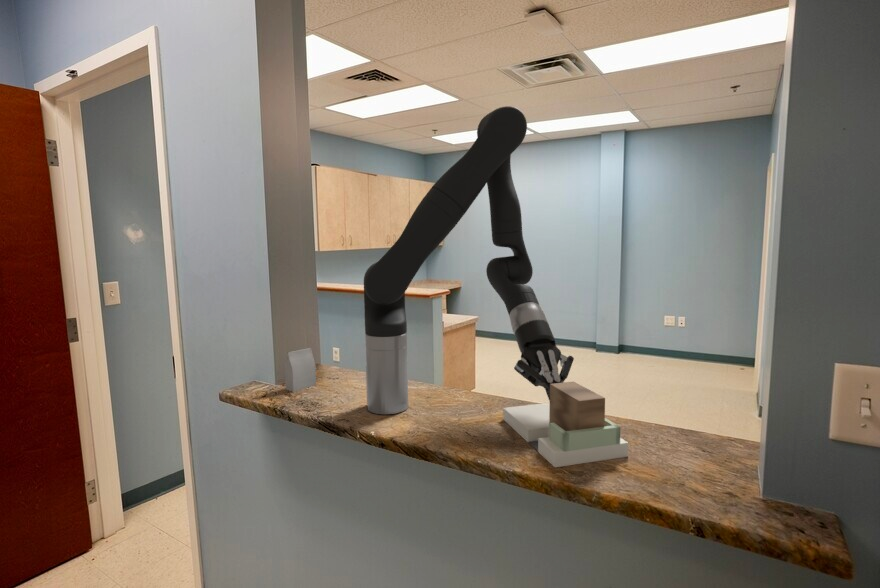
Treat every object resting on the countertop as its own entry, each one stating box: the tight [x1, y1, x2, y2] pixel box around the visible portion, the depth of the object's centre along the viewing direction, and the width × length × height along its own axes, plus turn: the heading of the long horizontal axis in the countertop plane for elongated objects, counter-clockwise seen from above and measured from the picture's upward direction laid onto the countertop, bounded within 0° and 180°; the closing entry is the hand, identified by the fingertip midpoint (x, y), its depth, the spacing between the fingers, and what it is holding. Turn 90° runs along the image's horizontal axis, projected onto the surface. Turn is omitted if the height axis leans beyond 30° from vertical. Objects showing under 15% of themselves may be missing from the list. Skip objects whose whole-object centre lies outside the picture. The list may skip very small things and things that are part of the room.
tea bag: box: [284, 347, 317, 393], centre depth 121 cm, size 4×7×10 cm, turn 139°
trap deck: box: [502, 402, 630, 468], centre depth 89 cm, size 22×14×6 cm, turn 15°
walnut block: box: [549, 381, 606, 431], centre depth 84 cm, size 10×5×8 cm, turn 15°
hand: (559, 402), depth 89 cm, fingers closed
